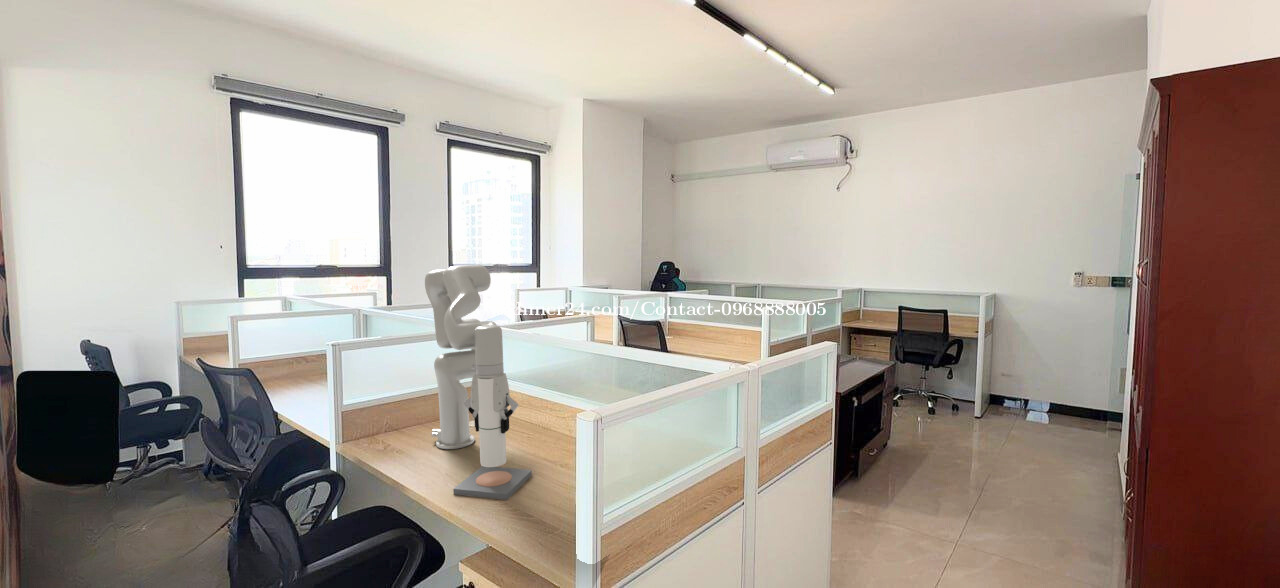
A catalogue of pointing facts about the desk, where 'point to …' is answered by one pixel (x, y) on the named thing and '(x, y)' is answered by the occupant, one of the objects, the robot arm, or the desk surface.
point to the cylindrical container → (490, 427)
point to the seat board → (493, 482)
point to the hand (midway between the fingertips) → (492, 430)
